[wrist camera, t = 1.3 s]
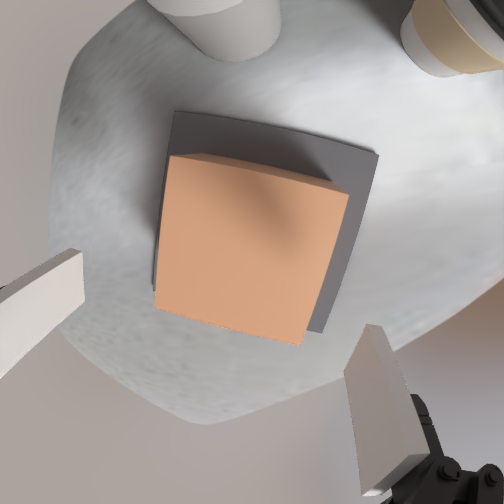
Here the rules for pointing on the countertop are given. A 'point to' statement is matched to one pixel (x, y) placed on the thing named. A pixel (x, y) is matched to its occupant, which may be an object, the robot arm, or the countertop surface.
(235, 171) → the orange block
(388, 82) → the countertop surface
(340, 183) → the mat
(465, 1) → the coffee cup
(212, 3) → the white soda can
